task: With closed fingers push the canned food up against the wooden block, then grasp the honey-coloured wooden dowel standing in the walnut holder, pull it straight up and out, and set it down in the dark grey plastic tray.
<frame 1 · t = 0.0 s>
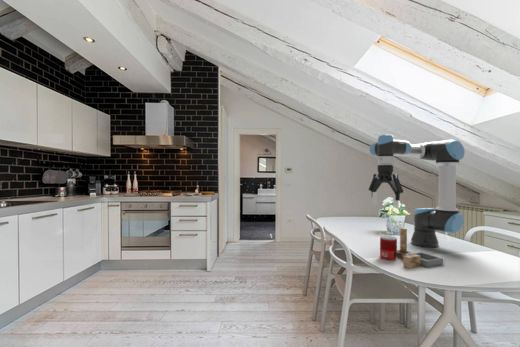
hand: (384, 205, 147), 28 cm above the table, fingers open, 13 cm apart
canned food: (388, 258, 149), on the table
holder: (403, 256, 152), on the table
dowel: (403, 242, 152), in the holder
wooden block: (411, 266, 136), on the table
tray: (423, 262, 142), on the table
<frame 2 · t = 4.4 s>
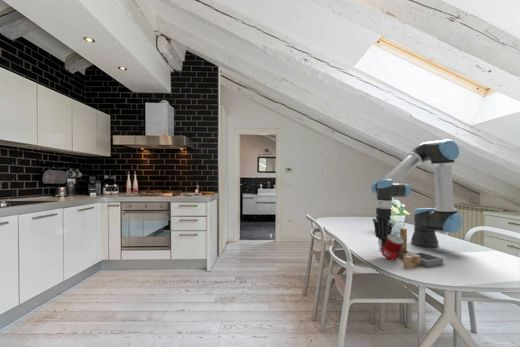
hand: (381, 251, 152), 3 cm above the table, fingers closed
canned food: (388, 255, 148), point 1 cm above the table, touching gripper, hand
everything else where it was.
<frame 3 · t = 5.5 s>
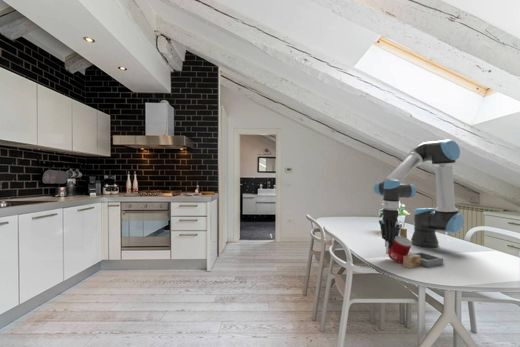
hand: (388, 253, 148), 3 cm above the table, fingers closed
canned food: (396, 258, 144), point 1 cm above the table, touching gripper, hand
everything else where it was.
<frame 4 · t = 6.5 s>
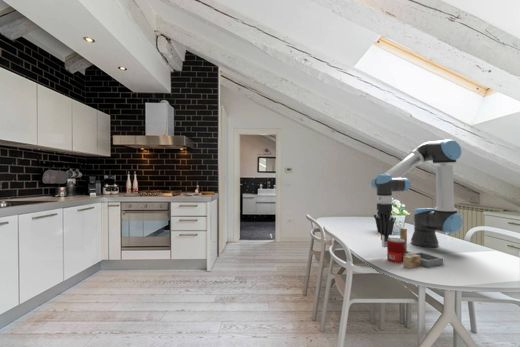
hand: (384, 246, 152), 5 cm above the table, fingers closed
canned food: (395, 261, 145), on the table
everything else where it was.
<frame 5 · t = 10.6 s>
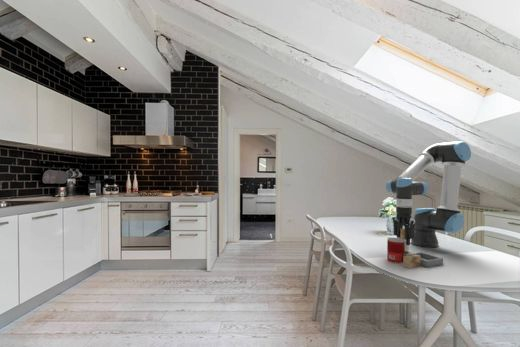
hand: (403, 249, 152), 4 cm above the table, fingers closed on dowel, 3 cm apart
dowel: (403, 242, 152), in the holder, touching gripper
everything else where it was.
when the fingers open (6 cm above the table, at t = 16.2 s): dowel stays where it is, resting on tray.
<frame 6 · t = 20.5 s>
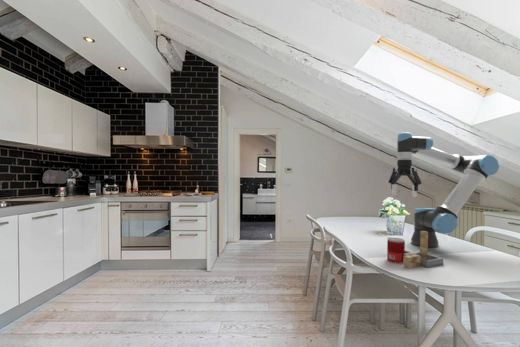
hand: (404, 196, 165), 32 cm above the table, fingers open, 13 cm apart
dowel: (423, 246, 142), in the tray, point 8 cm above the table
everything else where it was.
at the end: canned food inside the target area on the table beside the wooden block (1.8 cm from its centre), on the table; dowel inside the target area on the tray (0.1 cm from its centre), point 8.1 cm above the tray's base; the gripper is holding nothing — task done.
